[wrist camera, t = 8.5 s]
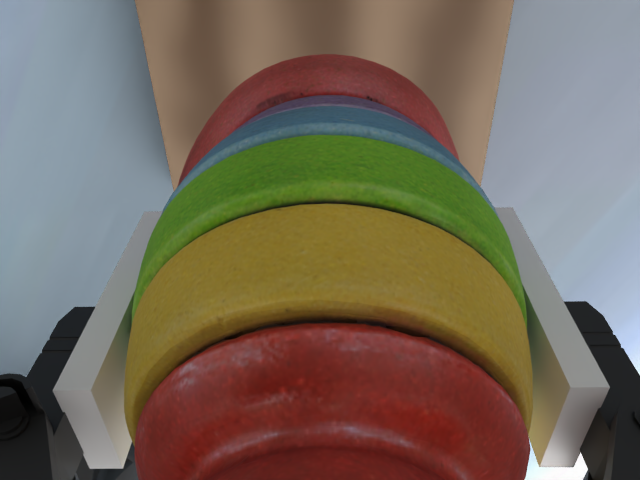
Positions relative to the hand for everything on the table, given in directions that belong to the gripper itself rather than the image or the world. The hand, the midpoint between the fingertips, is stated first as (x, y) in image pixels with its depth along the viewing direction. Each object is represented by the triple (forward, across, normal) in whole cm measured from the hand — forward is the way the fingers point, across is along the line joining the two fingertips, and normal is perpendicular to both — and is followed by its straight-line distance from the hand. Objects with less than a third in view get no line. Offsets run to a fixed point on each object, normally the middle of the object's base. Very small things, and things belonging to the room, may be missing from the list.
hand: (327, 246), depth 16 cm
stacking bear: (+4, 0, 0) cm, 4 cm away
